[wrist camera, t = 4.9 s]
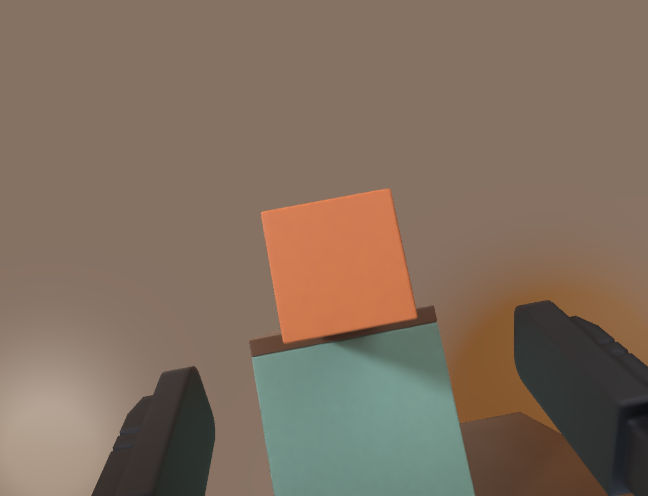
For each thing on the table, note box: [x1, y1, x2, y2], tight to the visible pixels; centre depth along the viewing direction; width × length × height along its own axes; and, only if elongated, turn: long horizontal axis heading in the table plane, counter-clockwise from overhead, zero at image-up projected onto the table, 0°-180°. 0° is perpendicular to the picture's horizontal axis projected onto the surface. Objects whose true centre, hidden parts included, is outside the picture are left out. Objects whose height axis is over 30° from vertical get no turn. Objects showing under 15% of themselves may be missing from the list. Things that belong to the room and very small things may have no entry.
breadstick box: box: [261, 188, 418, 344], centre depth 24 cm, size 22×4×4 cm, turn 0°
